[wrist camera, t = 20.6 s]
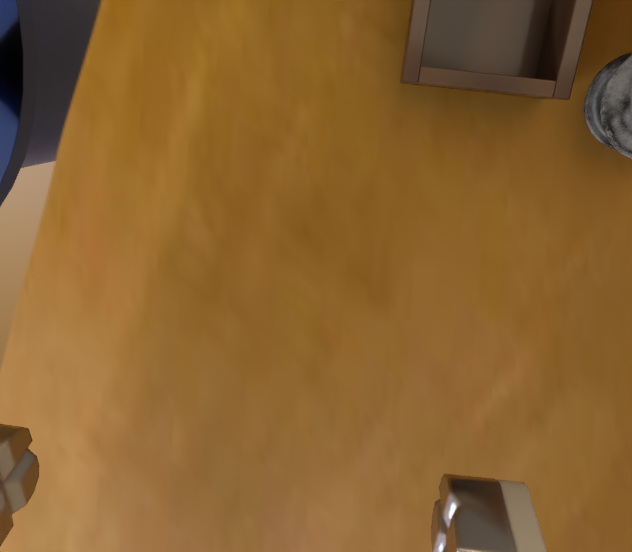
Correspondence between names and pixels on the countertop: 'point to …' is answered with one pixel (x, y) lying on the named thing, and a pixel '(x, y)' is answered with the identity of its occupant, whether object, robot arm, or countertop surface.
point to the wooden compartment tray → (496, 45)
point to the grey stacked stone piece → (612, 105)
